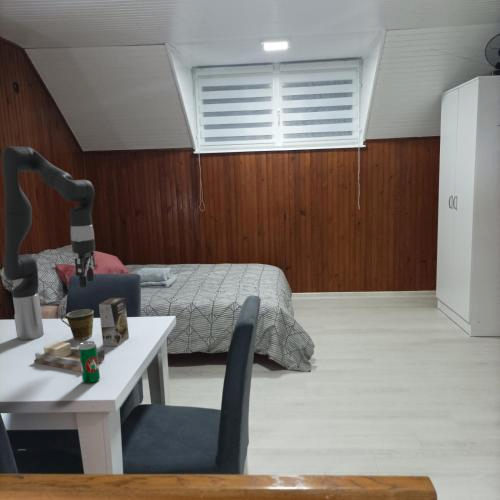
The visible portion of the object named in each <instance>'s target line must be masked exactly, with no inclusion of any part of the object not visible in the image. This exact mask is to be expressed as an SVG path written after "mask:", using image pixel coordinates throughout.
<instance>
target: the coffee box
mask: <svg viewBox="0 0 500 500" xmlns="http://www.w3.org/2000/svg"><path fill="white" fill-rule="evenodd" d="M98 307H99V309H98V310H99V317H100V319H99V320H100V328H101V338H102V346H105V347H106V346H107V347H108V346H109V347H119V346H120V345H122V344H123V343H124V342H125V341H127V340H128V339H129V338H130V335H129V326H128V325H129V324H128V323H129V322H128V316H127V315H128V314H127V305H126V297H110V298H108V299H107V300H104V301H102V302H100V303H99V304H98Z"/></svg>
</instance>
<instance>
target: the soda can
mask: <svg viewBox="0 0 500 500" xmlns="http://www.w3.org/2000/svg"><path fill="white" fill-rule="evenodd" d="M78 348H79V355H80V364H81V371H80V372H81V380H82V382H83V383H85V384H87V385H90V384H94V383H97V382H98V381H99V380H100V378H101V375H100V374H101V373H100V364H99V363H98V355H97V351H98V347H97V344H96V342H95V341H94V340H93V341H92V340H86V341H83V342H81V343H79V347H78Z"/></svg>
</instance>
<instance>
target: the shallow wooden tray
mask: <svg viewBox="0 0 500 500" xmlns="http://www.w3.org/2000/svg"><path fill="white" fill-rule="evenodd" d="M97 355H98V364H99V363H101V362H104V360H105V358H106V357H105V350H104V349H100V350H97ZM34 356H35V358H34V363H35V364H39V365H45V366H51V367H56V368H60V369H67V370H72V371H75V372H76V371H77V372H81V364H80V355H79V347H71V355H69V356H67V357H60V356H54V355H48V354H44V353H41V352H36V353H34Z"/></svg>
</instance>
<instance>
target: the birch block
mask: <svg viewBox="0 0 500 500" xmlns="http://www.w3.org/2000/svg"><path fill="white" fill-rule="evenodd" d="M43 352H44V353H43V354H48V355H54V356H60V357H67V356H69V355H71V343H70V342H64V341H59V340H58V341H55V342H54V343H50V344H48V345H46V346H44V347H43Z"/></svg>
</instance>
